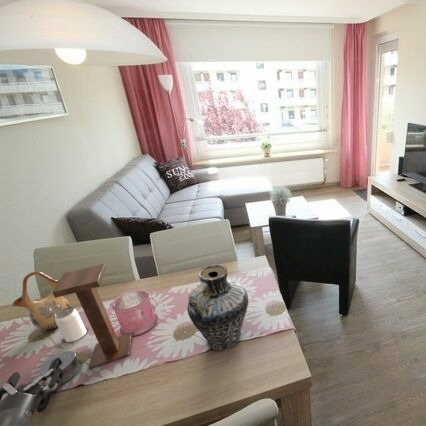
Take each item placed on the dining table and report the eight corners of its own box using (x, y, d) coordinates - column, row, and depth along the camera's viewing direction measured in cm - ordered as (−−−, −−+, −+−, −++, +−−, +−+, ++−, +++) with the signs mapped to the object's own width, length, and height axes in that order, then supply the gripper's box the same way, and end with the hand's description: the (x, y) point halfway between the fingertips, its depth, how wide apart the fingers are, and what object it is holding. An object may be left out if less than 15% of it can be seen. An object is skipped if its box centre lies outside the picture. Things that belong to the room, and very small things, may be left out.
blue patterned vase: (217, 317, 117) (201, 252, 105) (262, 323, 113) (251, 256, 101) (185, 361, 98) (162, 288, 87) (238, 369, 94) (221, 295, 83)
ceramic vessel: (75, 308, 126) (51, 259, 116) (86, 314, 122) (62, 264, 112) (26, 335, 113) (-5, 282, 103) (37, 343, 109) (6, 288, 99)
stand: (91, 370, 97) (52, 292, 84) (98, 346, 106) (63, 273, 93) (129, 357, 101) (97, 281, 88) (132, 335, 110) (104, 263, 98)
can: (83, 328, 115) (72, 304, 110) (90, 335, 111) (78, 310, 107) (63, 339, 110) (50, 314, 105) (69, 346, 107) (56, 321, 102)
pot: (26, 429, 80) (14, 412, 77) (52, 370, 98) (43, 355, 95) (66, 414, 84) (56, 398, 81) (84, 359, 101) (77, 344, 98)
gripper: (-22, 446, 68) (10, 387, 81) (54, 417, 73) (72, 367, 87) (-39, 426, 65) (-3, 368, 78) (41, 397, 70) (62, 348, 84)
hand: (37, 368), depth 83 cm, fingers open, 8 cm apart
